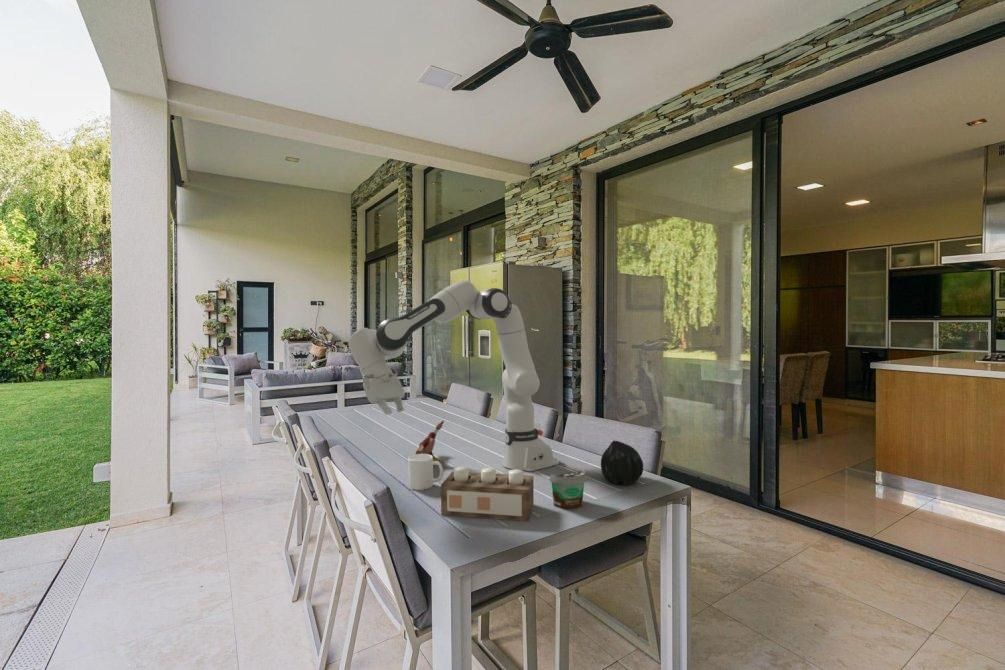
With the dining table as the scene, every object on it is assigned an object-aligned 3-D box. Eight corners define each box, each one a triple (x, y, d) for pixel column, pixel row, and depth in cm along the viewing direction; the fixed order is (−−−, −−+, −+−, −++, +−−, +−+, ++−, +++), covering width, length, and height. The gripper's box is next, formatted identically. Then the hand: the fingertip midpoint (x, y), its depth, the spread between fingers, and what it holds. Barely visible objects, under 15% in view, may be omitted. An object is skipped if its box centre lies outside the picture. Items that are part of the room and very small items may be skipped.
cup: (413, 481, 164) (412, 453, 163) (446, 482, 162) (445, 454, 162) (405, 490, 156) (405, 460, 155) (440, 491, 154) (439, 461, 154)
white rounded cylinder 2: (507, 490, 136) (507, 473, 136) (510, 485, 140) (510, 469, 140) (522, 491, 135) (522, 474, 135) (524, 486, 139) (524, 469, 139)
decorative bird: (453, 465, 170) (437, 428, 170) (408, 484, 171) (392, 447, 170) (462, 444, 198) (448, 412, 198) (423, 461, 199) (409, 429, 198)
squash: (658, 468, 159) (634, 431, 166) (631, 479, 150) (606, 439, 157) (633, 486, 168) (611, 450, 176) (606, 497, 159) (584, 459, 166)
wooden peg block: (441, 514, 136) (440, 484, 135) (452, 498, 148) (452, 471, 147) (528, 521, 131) (528, 490, 131) (533, 504, 143) (533, 475, 143)
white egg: (452, 487, 139) (452, 470, 139) (456, 482, 143) (456, 466, 143) (466, 488, 138) (466, 471, 138) (470, 482, 142) (469, 466, 142)
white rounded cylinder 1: (479, 488, 137) (479, 472, 137) (482, 483, 142) (482, 467, 141) (494, 489, 137) (494, 473, 136) (496, 484, 141) (496, 468, 141)
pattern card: (446, 511, 135) (446, 491, 134) (447, 510, 135) (447, 490, 135) (521, 516, 131) (521, 495, 130) (521, 515, 131) (521, 494, 131)
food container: (559, 513, 136) (559, 480, 135) (549, 506, 141) (549, 474, 141) (594, 506, 141) (594, 474, 140) (583, 499, 146) (583, 468, 146)
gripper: (369, 370, 140) (389, 410, 138) (398, 370, 160) (415, 405, 158) (352, 380, 141) (372, 420, 139) (383, 379, 161) (400, 414, 159)
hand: (395, 412), depth 149 cm, fingers open, 8 cm apart
